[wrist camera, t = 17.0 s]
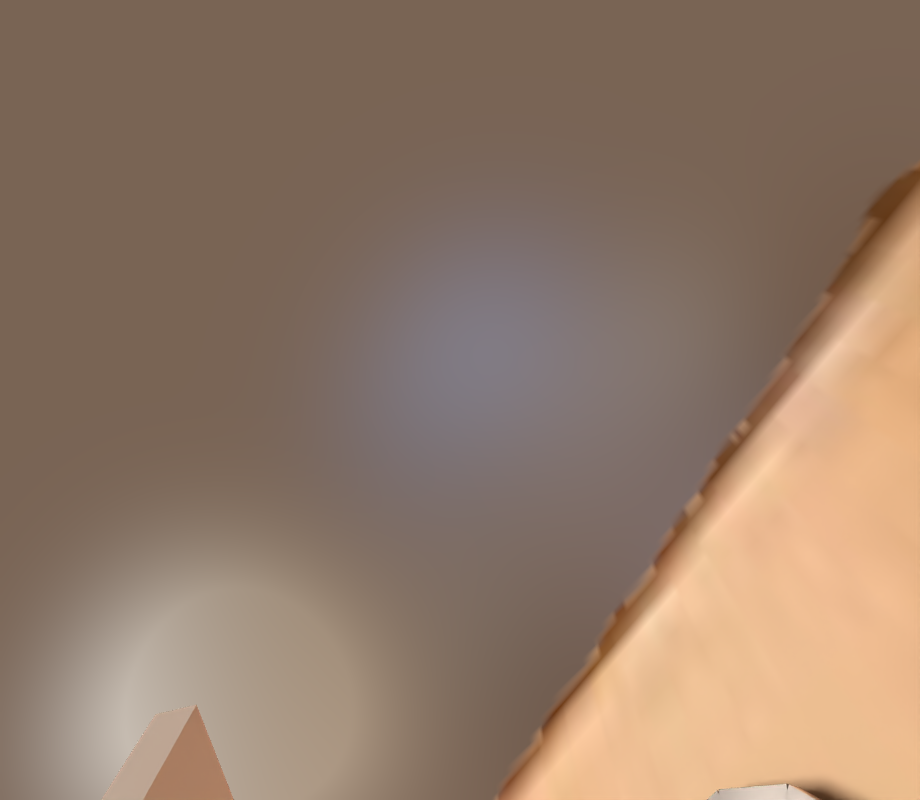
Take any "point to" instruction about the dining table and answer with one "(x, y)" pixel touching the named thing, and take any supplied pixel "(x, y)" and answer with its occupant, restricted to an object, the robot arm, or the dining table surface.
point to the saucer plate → (763, 793)
